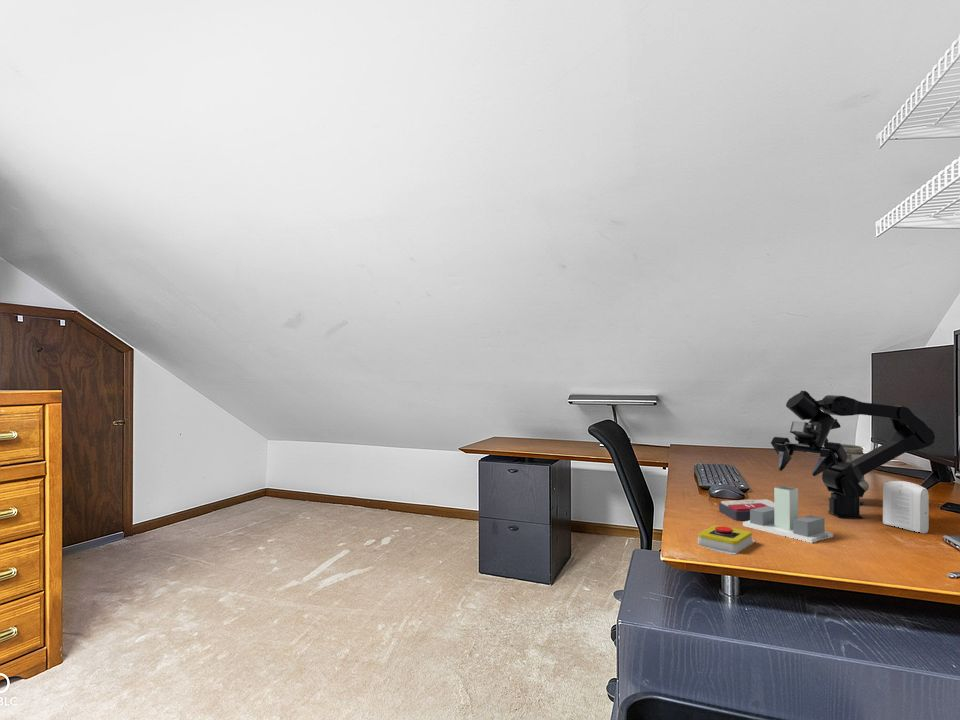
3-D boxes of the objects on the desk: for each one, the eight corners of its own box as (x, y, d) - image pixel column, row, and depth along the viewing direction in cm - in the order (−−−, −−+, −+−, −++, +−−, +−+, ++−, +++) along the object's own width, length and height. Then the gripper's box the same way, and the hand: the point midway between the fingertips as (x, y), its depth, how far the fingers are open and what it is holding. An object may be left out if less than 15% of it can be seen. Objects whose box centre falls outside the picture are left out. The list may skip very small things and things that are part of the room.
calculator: (718, 500, 168) (767, 497, 168) (718, 514, 168) (768, 511, 168) (735, 508, 157) (788, 506, 157) (736, 524, 157) (789, 521, 157)
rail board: (742, 525, 152) (742, 508, 152) (764, 520, 157) (764, 504, 157) (811, 543, 136) (811, 524, 136) (833, 537, 142) (832, 518, 142)
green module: (783, 524, 149) (782, 486, 150) (798, 527, 146) (798, 488, 146) (774, 526, 147) (774, 487, 148) (789, 529, 144) (789, 490, 144)
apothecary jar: (855, 508, 173) (854, 448, 173) (816, 500, 183) (815, 444, 184) (877, 504, 178) (876, 446, 179) (838, 496, 189) (837, 442, 189)
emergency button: (693, 529, 133) (717, 518, 144) (693, 548, 133) (717, 535, 144) (734, 538, 127) (756, 525, 138) (734, 557, 127) (756, 543, 138)
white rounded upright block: (932, 532, 146) (931, 484, 147) (922, 534, 145) (921, 485, 145) (889, 522, 156) (889, 477, 156) (880, 524, 154) (879, 478, 154)
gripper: (774, 409, 167) (752, 449, 161) (841, 413, 152) (820, 457, 146) (789, 434, 171) (768, 474, 165) (856, 441, 156) (836, 485, 150)
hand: (796, 472), depth 156 cm, fingers open, 9 cm apart
